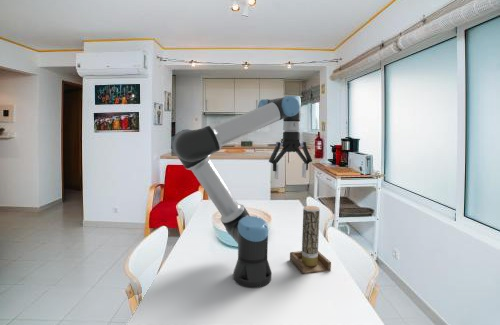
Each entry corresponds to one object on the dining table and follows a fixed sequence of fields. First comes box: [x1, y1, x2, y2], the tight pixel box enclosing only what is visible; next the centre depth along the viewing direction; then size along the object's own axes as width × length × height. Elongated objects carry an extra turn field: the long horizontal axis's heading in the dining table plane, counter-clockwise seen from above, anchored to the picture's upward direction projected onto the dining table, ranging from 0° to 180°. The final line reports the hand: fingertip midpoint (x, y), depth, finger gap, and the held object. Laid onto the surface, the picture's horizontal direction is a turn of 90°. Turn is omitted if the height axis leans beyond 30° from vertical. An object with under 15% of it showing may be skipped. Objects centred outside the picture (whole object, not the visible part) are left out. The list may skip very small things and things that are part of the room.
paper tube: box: [301, 205, 320, 267], centre depth 122 cm, size 7×7×25 cm
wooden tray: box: [289, 250, 332, 275], centre depth 124 cm, size 13×13×4 cm
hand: (290, 177), depth 130 cm, fingers open, 13 cm apart
